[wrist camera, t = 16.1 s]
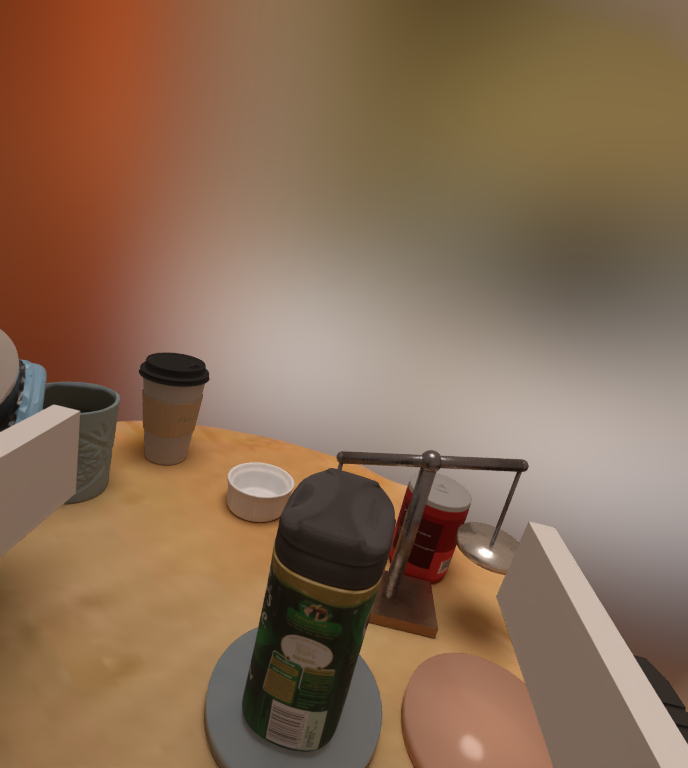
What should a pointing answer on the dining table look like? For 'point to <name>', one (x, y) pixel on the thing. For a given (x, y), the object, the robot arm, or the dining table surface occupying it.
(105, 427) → the grey-green ceramic planter
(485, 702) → the terracotta dish
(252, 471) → the ramekin
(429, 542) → the canned food
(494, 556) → the balance
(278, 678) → the coffee jar
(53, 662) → the dining table surface
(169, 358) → the coffee cup
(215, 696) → the slate dish
